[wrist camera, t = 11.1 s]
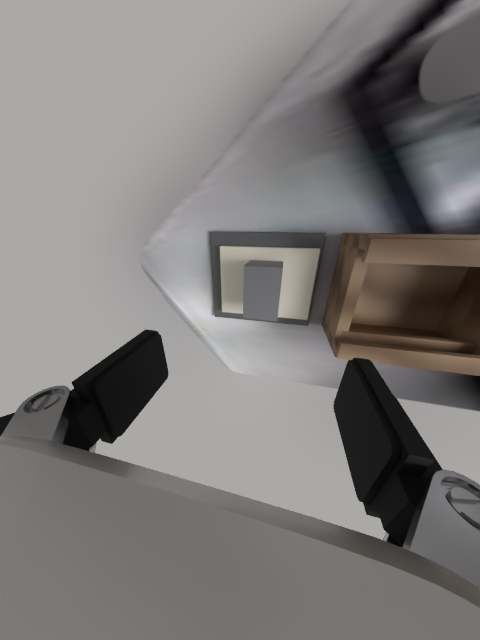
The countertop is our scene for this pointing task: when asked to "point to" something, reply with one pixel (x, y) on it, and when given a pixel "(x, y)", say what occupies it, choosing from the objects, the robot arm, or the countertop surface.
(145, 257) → the countertop surface
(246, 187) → the countertop surface
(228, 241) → the charcoal mat
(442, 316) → the walnut box
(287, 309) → the cover plate
